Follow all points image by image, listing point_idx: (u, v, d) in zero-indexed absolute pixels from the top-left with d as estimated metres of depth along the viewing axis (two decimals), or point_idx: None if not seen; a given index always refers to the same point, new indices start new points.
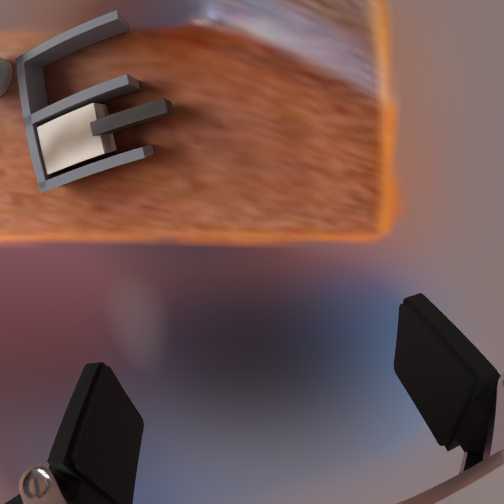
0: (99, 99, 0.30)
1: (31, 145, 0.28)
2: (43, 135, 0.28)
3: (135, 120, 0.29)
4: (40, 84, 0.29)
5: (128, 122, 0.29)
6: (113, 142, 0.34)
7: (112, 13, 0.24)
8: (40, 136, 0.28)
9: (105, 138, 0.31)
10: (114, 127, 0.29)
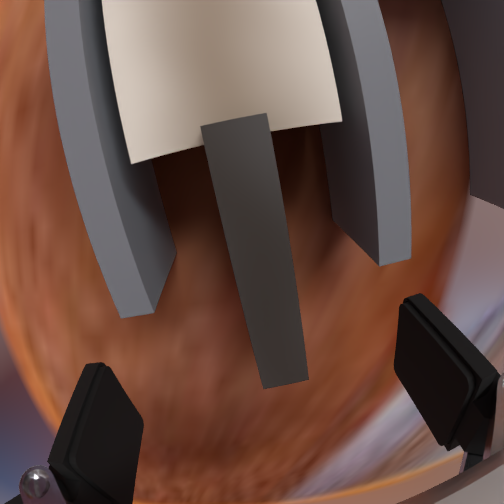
0: None
1: None
2: None
3: (247, 308, 0.09)
4: None
5: (242, 284, 0.09)
6: None
7: None
8: None
9: None
10: (228, 231, 0.08)
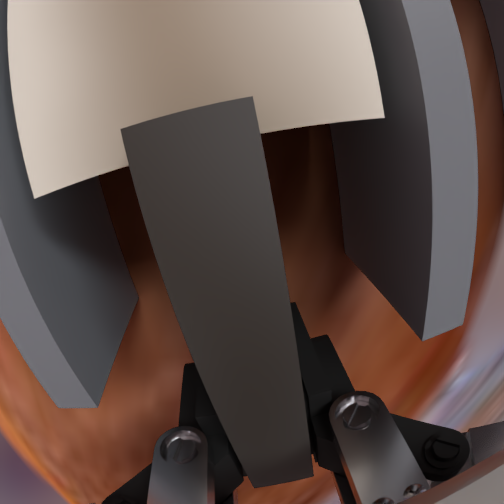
0: None
1: None
2: None
3: (227, 419, 0.05)
4: None
5: (217, 393, 0.05)
6: None
7: None
8: None
9: None
10: (186, 321, 0.04)
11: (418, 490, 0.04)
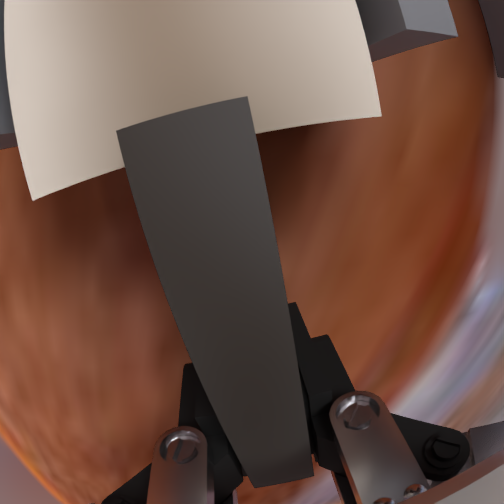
0: None
1: None
2: None
3: (226, 419, 0.05)
4: None
5: (215, 393, 0.05)
6: None
7: None
8: None
9: None
10: (183, 322, 0.04)
11: (419, 490, 0.04)
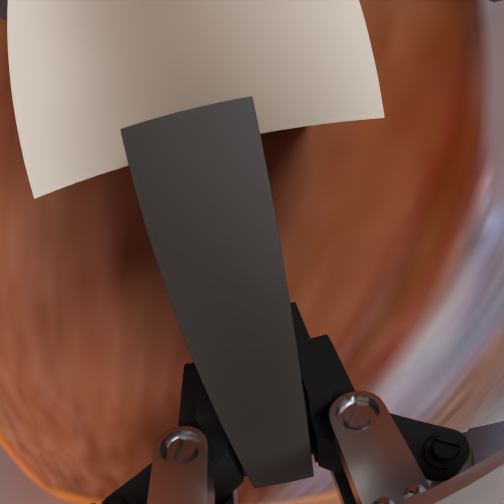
0: None
1: None
2: None
3: (227, 419, 0.05)
4: None
5: (217, 393, 0.05)
6: None
7: None
8: None
9: None
10: (186, 320, 0.04)
11: (418, 490, 0.04)
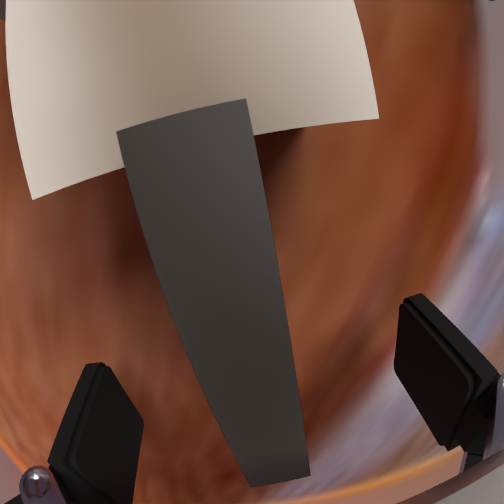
0: None
1: None
2: None
3: (223, 418, 0.05)
4: None
5: (213, 392, 0.05)
6: None
7: None
8: None
9: None
10: (182, 321, 0.04)
11: None
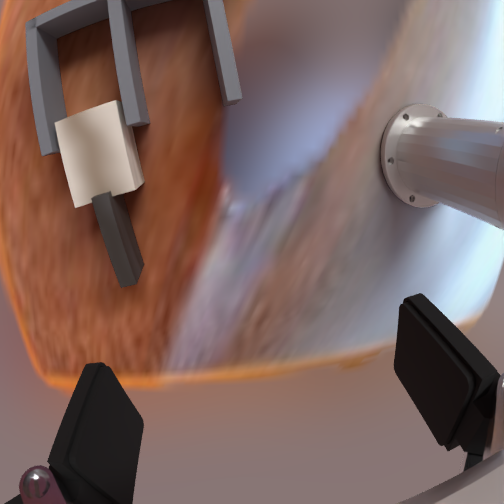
0: None
1: (80, 0, 0.17)
2: (102, 112, 0.22)
3: (109, 253, 0.26)
4: None
5: (107, 244, 0.25)
6: None
7: (239, 93, 0.23)
8: (102, 107, 0.22)
9: None
10: (101, 228, 0.25)
11: None
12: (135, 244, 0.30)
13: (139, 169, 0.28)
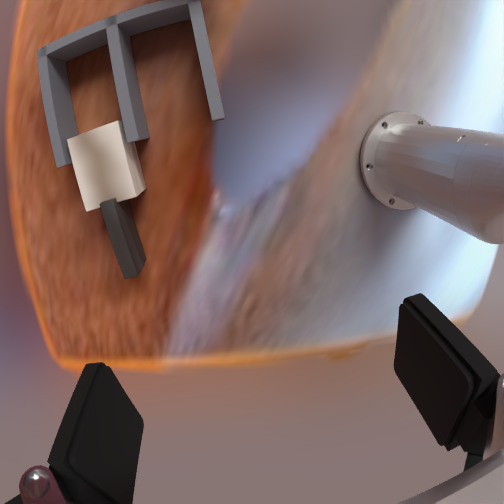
0: None
1: (83, 30, 0.22)
2: (107, 131, 0.27)
3: (115, 249, 0.31)
4: (165, 21, 0.26)
5: (113, 242, 0.30)
6: None
7: (221, 112, 0.27)
8: (106, 127, 0.27)
9: None
10: (108, 228, 0.30)
11: None
12: (138, 242, 0.34)
13: (141, 178, 0.33)
